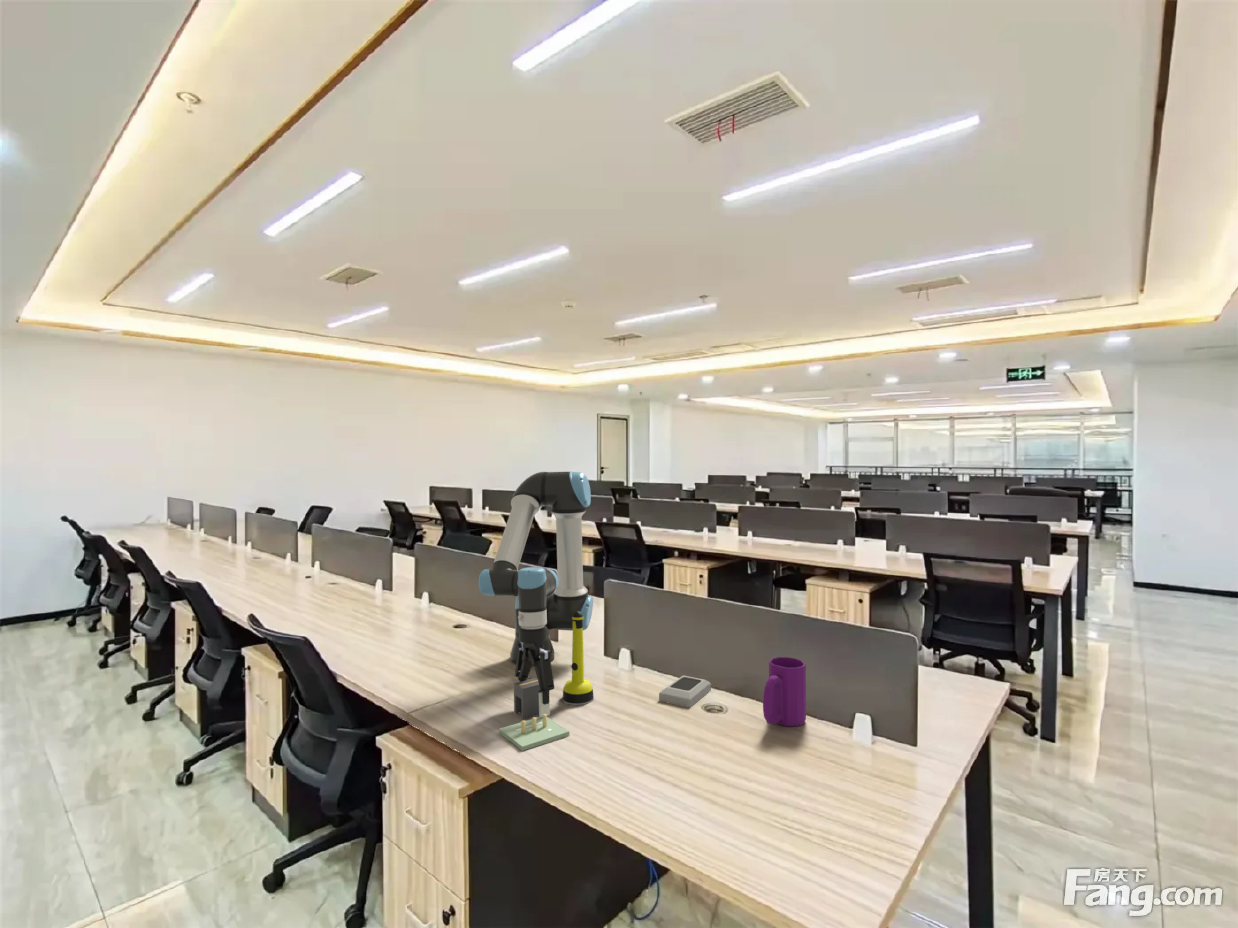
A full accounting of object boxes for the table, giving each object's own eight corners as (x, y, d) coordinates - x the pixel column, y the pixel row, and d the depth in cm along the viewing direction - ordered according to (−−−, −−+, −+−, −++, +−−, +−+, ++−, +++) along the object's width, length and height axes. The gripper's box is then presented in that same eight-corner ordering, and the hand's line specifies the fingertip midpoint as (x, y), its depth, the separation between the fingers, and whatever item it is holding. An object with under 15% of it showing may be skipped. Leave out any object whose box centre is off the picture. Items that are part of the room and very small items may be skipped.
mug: (812, 719, 154) (811, 662, 155) (782, 739, 143) (782, 677, 143) (780, 709, 161) (779, 654, 161) (749, 728, 150) (749, 668, 150)
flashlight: (575, 606, 175) (555, 612, 168) (599, 610, 170) (580, 616, 163) (576, 690, 175) (555, 700, 168) (600, 697, 170) (580, 707, 163)
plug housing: (540, 705, 164) (539, 676, 164) (549, 711, 160) (549, 681, 160) (514, 713, 160) (513, 682, 160) (522, 719, 156) (522, 688, 156)
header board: (544, 719, 156) (544, 703, 156) (569, 735, 146) (569, 719, 146) (499, 732, 148) (499, 716, 148) (522, 751, 138) (522, 733, 138)
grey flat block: (658, 689, 167) (681, 673, 180) (659, 702, 167) (681, 685, 180) (690, 695, 163) (710, 678, 175) (690, 709, 163) (710, 691, 175)
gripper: (501, 621, 166) (502, 702, 165) (541, 635, 149) (543, 726, 148) (525, 617, 171) (526, 696, 170) (567, 630, 153) (569, 718, 152)
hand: (534, 710), depth 159 cm, fingers open, 10 cm apart
